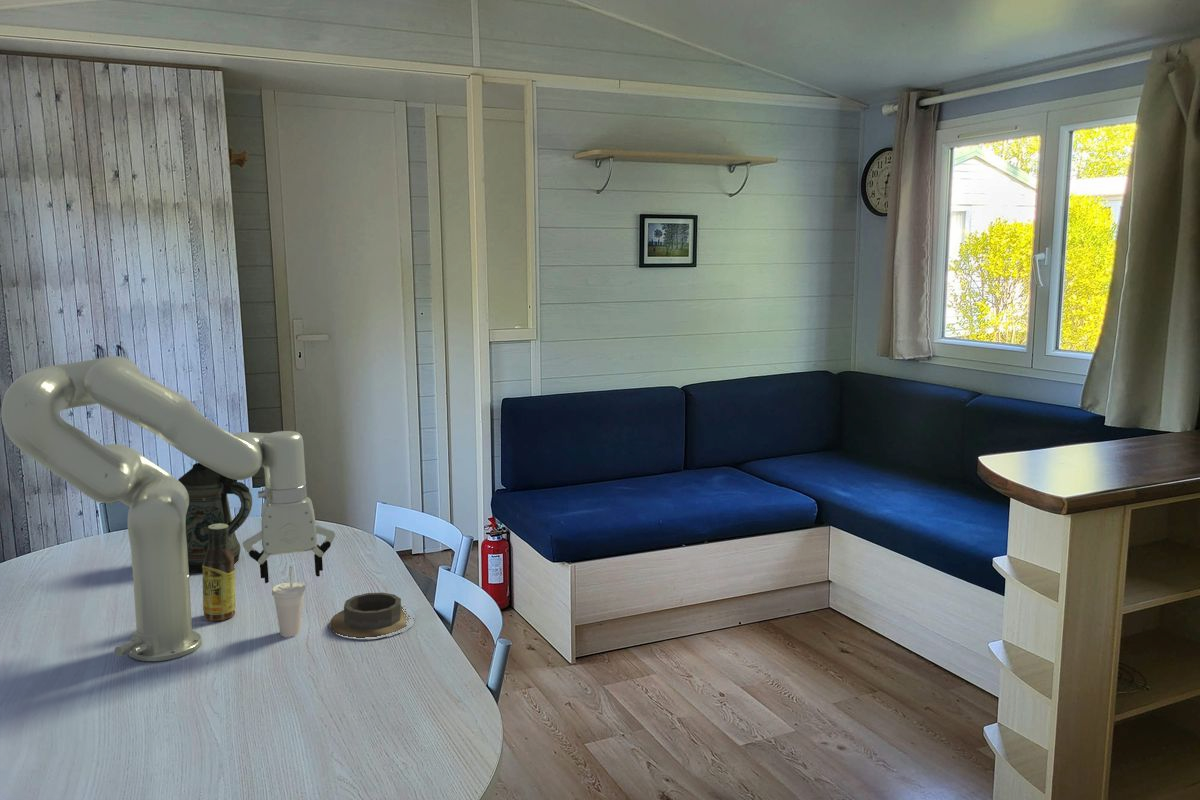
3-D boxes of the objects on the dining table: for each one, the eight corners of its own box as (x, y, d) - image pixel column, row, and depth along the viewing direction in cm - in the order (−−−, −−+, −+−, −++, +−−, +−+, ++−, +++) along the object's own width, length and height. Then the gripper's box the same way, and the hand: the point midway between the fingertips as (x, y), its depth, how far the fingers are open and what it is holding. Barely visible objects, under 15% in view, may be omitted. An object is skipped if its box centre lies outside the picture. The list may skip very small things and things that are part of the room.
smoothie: (300, 640, 176) (298, 572, 174) (268, 639, 176) (265, 571, 174) (311, 627, 182) (309, 561, 180) (280, 626, 182) (278, 561, 180)
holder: (383, 645, 174) (383, 623, 173) (312, 631, 180) (312, 610, 179) (430, 615, 190) (430, 594, 189) (363, 603, 196) (363, 583, 195)
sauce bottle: (197, 619, 185) (192, 526, 182) (222, 609, 191) (217, 519, 188) (218, 625, 182) (214, 531, 179) (243, 615, 188) (239, 524, 185)
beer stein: (168, 556, 224) (163, 459, 220) (251, 548, 232) (247, 454, 228) (167, 577, 209) (161, 474, 205) (256, 567, 217) (251, 467, 214)
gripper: (238, 504, 168) (245, 590, 171) (333, 494, 174) (338, 577, 177) (239, 494, 175) (246, 577, 178) (330, 485, 181) (335, 566, 184)
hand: (292, 577), depth 178 cm, fingers open, 9 cm apart
